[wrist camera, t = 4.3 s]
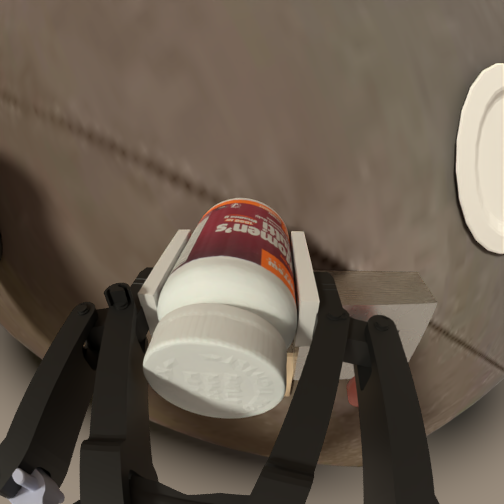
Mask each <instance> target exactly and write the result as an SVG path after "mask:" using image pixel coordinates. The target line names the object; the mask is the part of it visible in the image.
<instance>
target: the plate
mask: <svg viewBox="0 0 504 504" xmlns="http://www.w3.org/2000/svg"><path fill="white" fill-rule="evenodd" d="M455 174H456V182H457V190H458V199H459V203H460V206H461V209H462V212H463V216H464V220H465V223H466V224H467V226H468V228H469V230H470V231H471V233H472V235H473V236H474V238H475V240H476V241H477V242H479V243H480V244H481V245H482V246H483V247H484V248H486V249H487V250H488V251H491V252H495V253H498V254H504V64H501V63H496V64H493V65H492V66H490V67H488V68H486V69H484V70H482V71H481V72H480V74H479V75H478V76H477V78H476V79H475V80H474V82H473V83H472V84H471V86H470V87H469V90H468V92H467V95H466V98H465V101H464V103H463V106H462V108H461V112H460V118H459V124H458V130H457V135H456V157H455Z"/></svg>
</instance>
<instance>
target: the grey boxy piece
mask: <svg viewBox="0 0 504 504" xmlns="http://www.w3.org/2000/svg"><path fill="white" fill-rule="evenodd" d="M313 272H329V274H330V275H331V276H332V277H333V278H334V281H335V285H336V287H337V290H338V294H339V297H340V300H341V303H342V307H343V308H344V309H345V310H347V311H348V313H349V314H350V317H352V318H354V319H357V320H361V321H366V322H368V320H369V318H370V317H372V316H374V315H384V316H386V317H389V318H390V319H391V320H393V321H394V323H395V325H396V328H397V330H398V333H399V336H400V339H401V342H402V345H403V349H404V352H405V355H406V358H407V361H408V362H409V360H410V358H411V357H412V355H413V353H414V351H415V349H416V347H417V345H418V344H419V342H420V340H421V338H422V336H423V334H424V332H425V330H426V328H427V325H428V323H429V321H430V319H431V317H432V315H433V312H434V310H435V308H436V306H437V301H436V300H435V298H434V296H433V295H432V293H431V292H430V290H429V289H428V287H427V286H426V284H425V283H424V281H423V280H422V278H421V277H420V275H419V274H418V272H382V271H337V270H313ZM309 349H310V346H303V347H295V341H294V339H293V380H299V379H300V376H301V373H302V370H303V367H304V364H305V361H306V358H307V355H308V352H309ZM354 376H355V374H354V367H353V364H350V363H345V362H343V363H342V368H341V373H340V378H339V379H352V378H353V377H354Z"/></svg>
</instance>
